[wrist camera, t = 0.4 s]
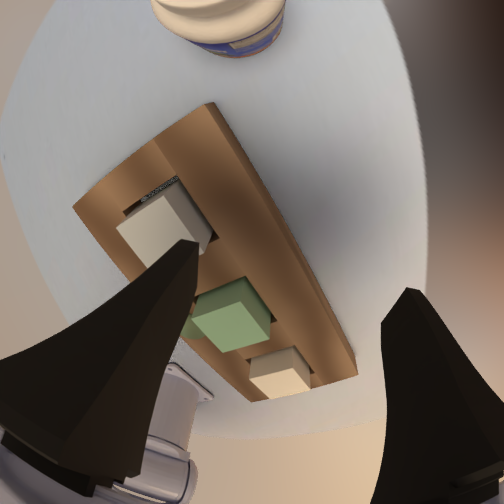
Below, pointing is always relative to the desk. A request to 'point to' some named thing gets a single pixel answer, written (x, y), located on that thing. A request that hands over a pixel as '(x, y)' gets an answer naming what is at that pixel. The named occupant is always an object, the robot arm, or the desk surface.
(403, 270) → the desk surface
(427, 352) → the robot arm
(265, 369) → the cream button
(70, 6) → the desk surface
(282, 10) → the pill bottle
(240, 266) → the brown wooden slotted board
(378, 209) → the desk surface
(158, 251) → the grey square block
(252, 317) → the sage button
